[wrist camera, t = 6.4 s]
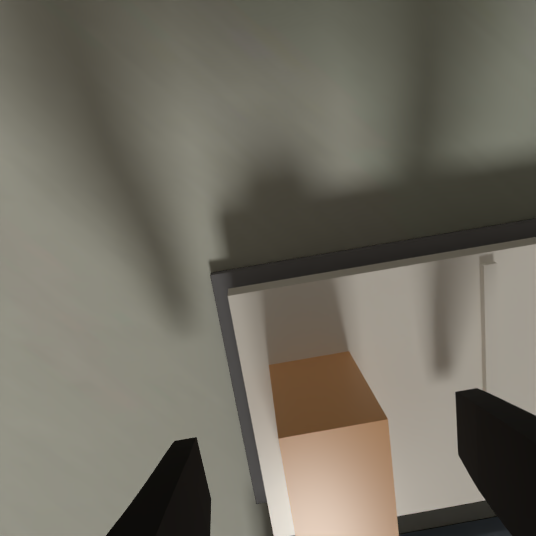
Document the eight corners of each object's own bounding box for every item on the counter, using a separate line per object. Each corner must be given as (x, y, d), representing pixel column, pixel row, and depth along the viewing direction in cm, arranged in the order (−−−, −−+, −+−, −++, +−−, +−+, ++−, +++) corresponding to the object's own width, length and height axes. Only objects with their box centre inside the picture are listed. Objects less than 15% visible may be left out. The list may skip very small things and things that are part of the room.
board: (598, 207, 13) (606, 208, 13) (586, 438, 16) (593, 443, 15) (211, 272, 13) (210, 275, 13) (256, 497, 15) (256, 503, 15)
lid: (581, 220, 13) (780, 252, 8) (572, 443, 15) (725, 572, 10) (229, 279, 13) (221, 347, 8) (270, 498, 15) (284, 655, 10)
